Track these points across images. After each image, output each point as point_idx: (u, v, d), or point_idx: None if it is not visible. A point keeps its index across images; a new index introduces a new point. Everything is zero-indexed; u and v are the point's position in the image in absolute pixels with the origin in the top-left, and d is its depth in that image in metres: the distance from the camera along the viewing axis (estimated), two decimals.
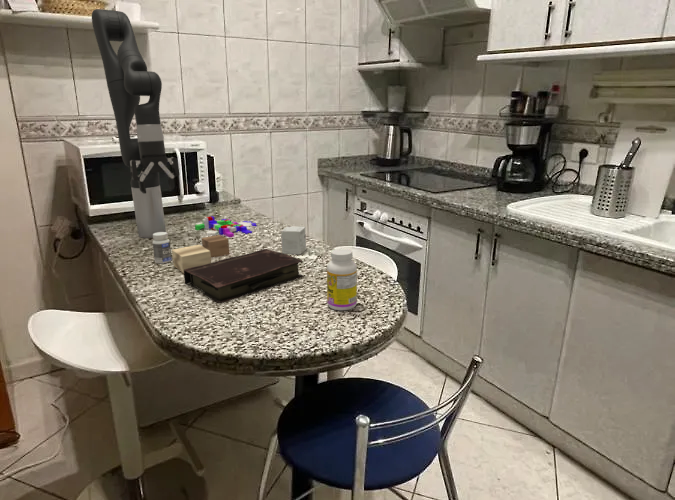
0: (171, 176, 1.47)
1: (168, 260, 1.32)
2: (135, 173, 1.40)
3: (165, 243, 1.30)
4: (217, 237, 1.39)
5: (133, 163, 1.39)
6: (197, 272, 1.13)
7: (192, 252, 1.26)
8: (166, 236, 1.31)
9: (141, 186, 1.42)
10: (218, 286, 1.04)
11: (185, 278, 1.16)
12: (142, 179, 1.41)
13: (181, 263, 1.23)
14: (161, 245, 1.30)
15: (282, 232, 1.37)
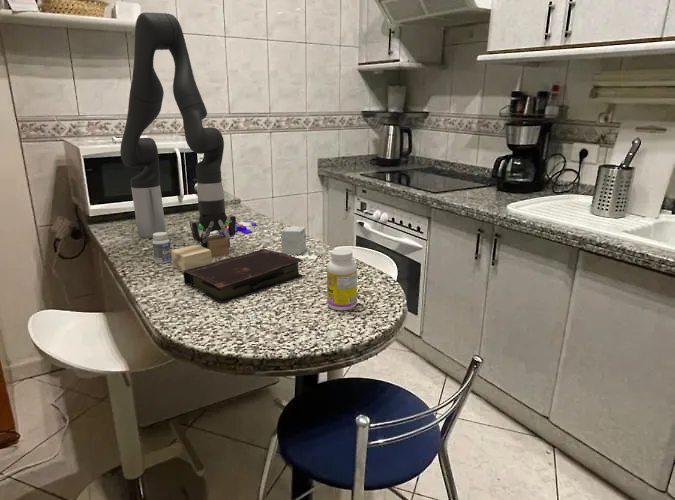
0: (227, 236, 1.39)
1: (168, 260, 1.32)
2: (197, 235, 1.34)
3: (165, 243, 1.30)
4: (217, 237, 1.39)
5: (194, 225, 1.32)
6: (197, 273, 1.12)
7: (193, 251, 1.26)
8: (166, 236, 1.31)
9: None
10: (220, 286, 1.04)
11: (185, 279, 1.16)
12: (205, 240, 1.35)
13: (183, 263, 1.23)
14: (161, 245, 1.30)
15: (282, 232, 1.37)
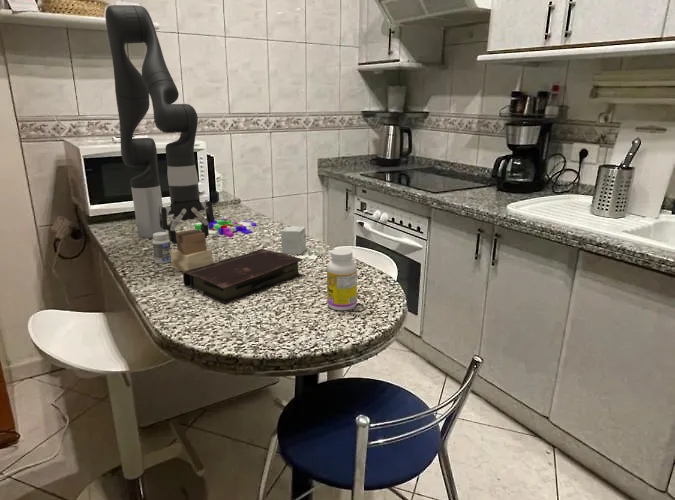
0: (205, 223, 1.27)
1: (168, 260, 1.32)
2: (165, 222, 1.20)
3: (165, 243, 1.30)
4: (193, 231, 1.27)
5: (163, 211, 1.19)
6: (198, 274, 1.12)
7: None
8: (166, 236, 1.31)
9: (171, 236, 1.22)
10: (224, 286, 1.03)
11: (185, 280, 1.15)
12: (173, 228, 1.22)
13: (186, 263, 1.23)
14: (161, 245, 1.30)
15: (282, 232, 1.37)
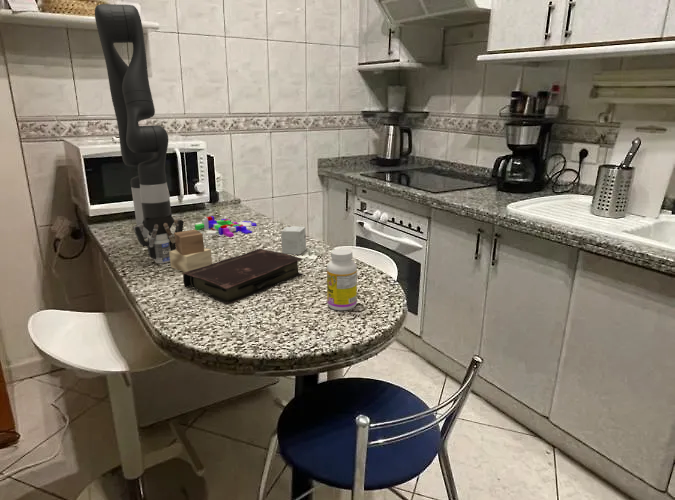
0: (172, 241, 1.32)
1: (168, 260, 1.32)
2: (142, 239, 1.27)
3: (166, 243, 1.30)
4: (191, 232, 1.27)
5: (137, 230, 1.26)
6: (199, 274, 1.11)
7: None
8: (166, 236, 1.31)
9: (150, 252, 1.30)
10: (227, 287, 1.03)
11: (185, 282, 1.14)
12: (152, 245, 1.29)
13: (185, 263, 1.23)
14: (161, 245, 1.30)
15: (282, 232, 1.37)
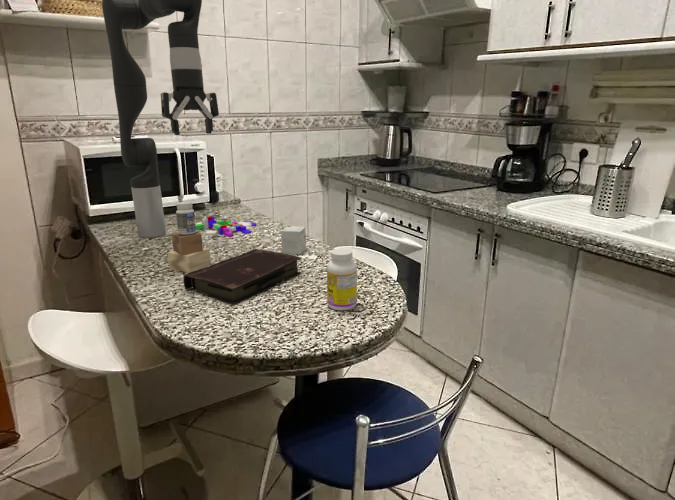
0: (209, 116, 1.20)
1: (192, 231, 1.24)
2: (167, 109, 1.14)
3: (190, 212, 1.23)
4: None
5: (165, 96, 1.13)
6: (201, 276, 1.10)
7: None
8: (191, 205, 1.23)
9: (174, 126, 1.16)
10: (233, 287, 1.03)
11: (185, 284, 1.13)
12: (175, 117, 1.15)
13: (187, 263, 1.23)
14: (186, 215, 1.22)
15: (282, 232, 1.37)
